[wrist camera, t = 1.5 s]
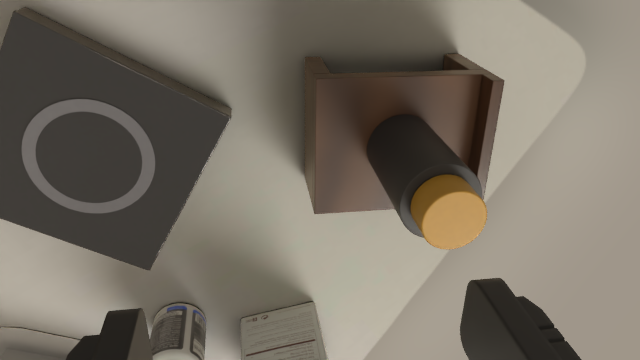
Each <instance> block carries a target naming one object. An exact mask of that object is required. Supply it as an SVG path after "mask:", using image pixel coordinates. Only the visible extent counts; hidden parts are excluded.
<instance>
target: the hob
mask: <svg viewBox="0 0 640 360" xmlns="http://www.w3.org/2000/svg"><path fill="white" fill-rule="evenodd" d="M231 110H232V109H231V108H229V107H227V106H225V105H223V104H221V103H219V102H217V101H215V100H213V99H211V98H209V97H207V96H205V95H203V94H201V93H199V92H197V91H195V90H193V89H191V88H189V87H187V86H185V85H183V84H181V83H178V82H176V81H174V80H172V79H170V78H168V77H166V76H164V75H162V74H160V73H158V72H156V71H154V70H152V69H150V68H148V67H146V66H144V65H142V64H140V63H138V62H136V61H134V60H132V59H130V58H128V57H126V56H124V55H122V54H120V53H118V52H116V51H113V50H111V49H109V48H107V47H105V46H103V45H101V44H99V43H97V42H95V41H93V40H91V39H89V38H87V37H85V36H83V35H81V34H79V33H77V32H75V31H73V30H71V29H69V28H67V27H65V26H63V25H61V24H59V23H57V22H55V21H53V20H50V19H48V18H46V17H44V16H42V15H40V14H38V13H36V12H34V11H32V10H30V9H28V8H26V7H24V8H21V9H19V10H16V11H14V12H13V14H12V17H11V20H10V23H9V26H8V29H7V32H6V35H5V38H4V40H3V43H2V46H1V49H0V218H1V219H3V220H6V221H9V222H12V223H15V224H18V225H21V226H23V227H26V228H29V229H32V230H35V231H38V232H40V233H43V234H46V235H49V236H52V237H55V238H57V239H60V240H63V241H66V242H69V243H72V244H75V245H77V246H80V247H83V248H86V249H89V250H92V251H94V252H97V253H100V254H103V255H106V256H109V257H111V258H114V259H117V260H120V261H123V262H126V263H128V264H131V265H134V266H137V267H140V268H143V269H146V270H150V269H151V267H152V265H153V263H154V261H155V259H156V258H157V256H158V254H159V252H160V250H161V248H162V246H163V244H164V243H165V241H166V239H167V237H168V235H169V233H170V231H171V230H172V228H173V226H174V224H175V222H176V220H177V218H178V217H179V215H180V213H181V211H182V209H183V207H184V205H185V203H186V202H187V200H188V198H189V196H190V194H191V192H192V190H193V189H194V187H195V185H196V183H197V181H198V179H199V177H200V175H201V174H202V172H203V170H204V168H205V166H206V164H207V162H208V161H209V159H210V157H211V155H212V153H213V151H214V149H215V147H216V146H217V144H218V142H219V140H220V138H221V136H222V134H223V133H224V131H225V129H226V127H227V125H228V123H229V121H230V119H231Z"/></svg>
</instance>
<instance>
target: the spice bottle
mask: <svg viewBox="0 0 640 360" xmlns="http://www.w3.org/2000/svg"><path fill="white" fill-rule="evenodd" d="M367 156H368V160H369V162H370V164H371V166H372V168H373V170H374V172H375V173H376V175H377V177H378V179H379V181H380V182H381V184H382V186H383V188H384V190H385V191H386V193H387V195H388V197H389V199H390V200H391V202H392V204H393V206H394V208H395V209H396V211H397V213H398V215H399V217H400V219H401V220H402V222H403V224H404V225H405V227H406V228H407V229H408V230H409V231H410V232H412V233H413V234H415V235H417V236H420V237H423V238H425V240H426V241H427V242H428V243H429V244H431V245H433V246H435V247H437V248H440V249H455V248H459V247H462V246H464V245H466V244H468V243H470V242H471V241H473V240H474V239H475V238H476V237H477V236H478V235H479V234H480V232H481V231H482V229H483V228H484V225H485V223H486V219H487V209H486V205H485V203H484V201H483V200H482V188H481V184H480V181H479V179H478V178H477V176H476V175H475V174H474V173H473V172H472V171H471V170H470V168H469V167H468V166H467V165H466V164H465V163H464V162H463V161H462V160H461V159H460V158H459V157H458V156H457V155H456V154H455V153H454V152H453V150H452V149H451V148H450V147H449V146H448V145H447V144H446V143H445V142H444V141H443V140H442V139H441V138H440V137H439V136H438V135H437V134H436V133H435V131H434V130H433V129H432V128H431V127H430V126H429V125H428V124H427V123H426V122H425V121H424V120H422V119H421V118H419V117H416V116H413V115H407V114H404V115H396V116H393V117H390V118H388V119H386V120H385V121H383V122H382V123H381V124H379V125H378V126H377V127H376V128H375V130H374V131H373V133H372V134H371V136H370V138H369V141H368V145H367Z"/></svg>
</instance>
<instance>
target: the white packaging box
mask: <svg viewBox="0 0 640 360" xmlns="http://www.w3.org/2000/svg"><path fill="white" fill-rule="evenodd" d="M241 360H328V355H327V351H326V347H325V343H324V339H323V335H322V331H321V327H320V323H319V319H318V315H317V310H316V306H315V303H314V302H310V303H305V304H301V305H297V306H292V307H288V308H283V309H279V310H274V311H270V312H265V313H261V314H257V315H253V316H249V317H245V318H242V319H241Z"/></svg>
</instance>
